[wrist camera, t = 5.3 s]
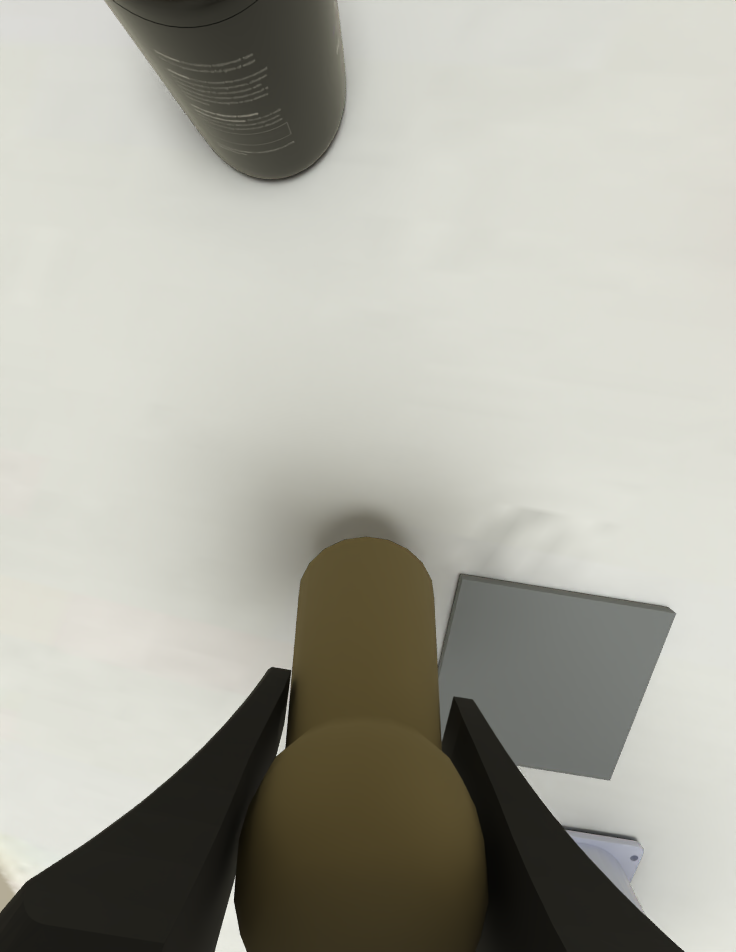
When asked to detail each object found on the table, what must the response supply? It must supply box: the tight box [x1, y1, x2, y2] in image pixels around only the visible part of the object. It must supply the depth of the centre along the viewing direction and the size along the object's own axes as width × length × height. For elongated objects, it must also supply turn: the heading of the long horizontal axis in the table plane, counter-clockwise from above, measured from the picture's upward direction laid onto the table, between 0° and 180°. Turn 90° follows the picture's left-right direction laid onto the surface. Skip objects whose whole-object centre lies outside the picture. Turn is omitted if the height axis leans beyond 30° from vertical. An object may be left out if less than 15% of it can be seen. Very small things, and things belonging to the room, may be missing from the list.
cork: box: [234, 537, 488, 952], centre depth 12 cm, size 6×6×11 cm
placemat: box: [438, 574, 676, 780], centre depth 23 cm, size 12×12×1 cm
